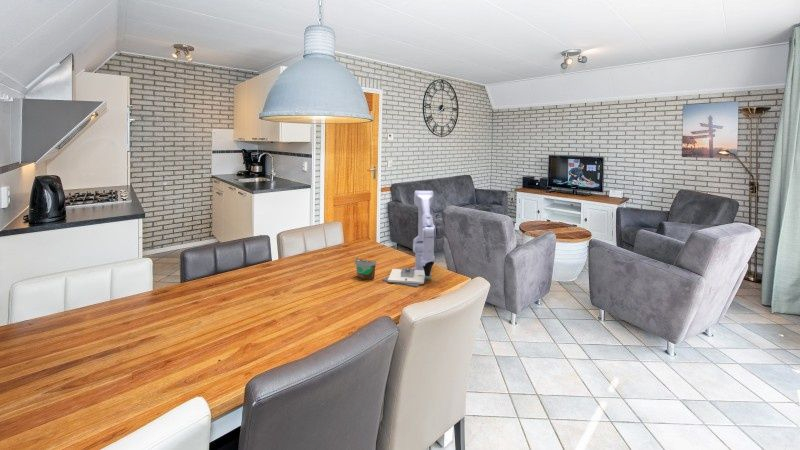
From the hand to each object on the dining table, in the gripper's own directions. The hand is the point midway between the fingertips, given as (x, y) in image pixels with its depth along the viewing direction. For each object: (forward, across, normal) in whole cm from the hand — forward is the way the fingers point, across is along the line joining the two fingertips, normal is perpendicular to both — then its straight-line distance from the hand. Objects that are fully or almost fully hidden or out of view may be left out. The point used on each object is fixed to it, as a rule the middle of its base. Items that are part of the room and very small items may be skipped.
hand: (427, 275), depth 208 cm
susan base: (+3, +1, -10) cm, 11 cm away
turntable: (+2, +1, -9) cm, 9 cm away
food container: (+3, +12, -31) cm, 33 cm away
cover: (+1, +1, -10) cm, 11 cm away
